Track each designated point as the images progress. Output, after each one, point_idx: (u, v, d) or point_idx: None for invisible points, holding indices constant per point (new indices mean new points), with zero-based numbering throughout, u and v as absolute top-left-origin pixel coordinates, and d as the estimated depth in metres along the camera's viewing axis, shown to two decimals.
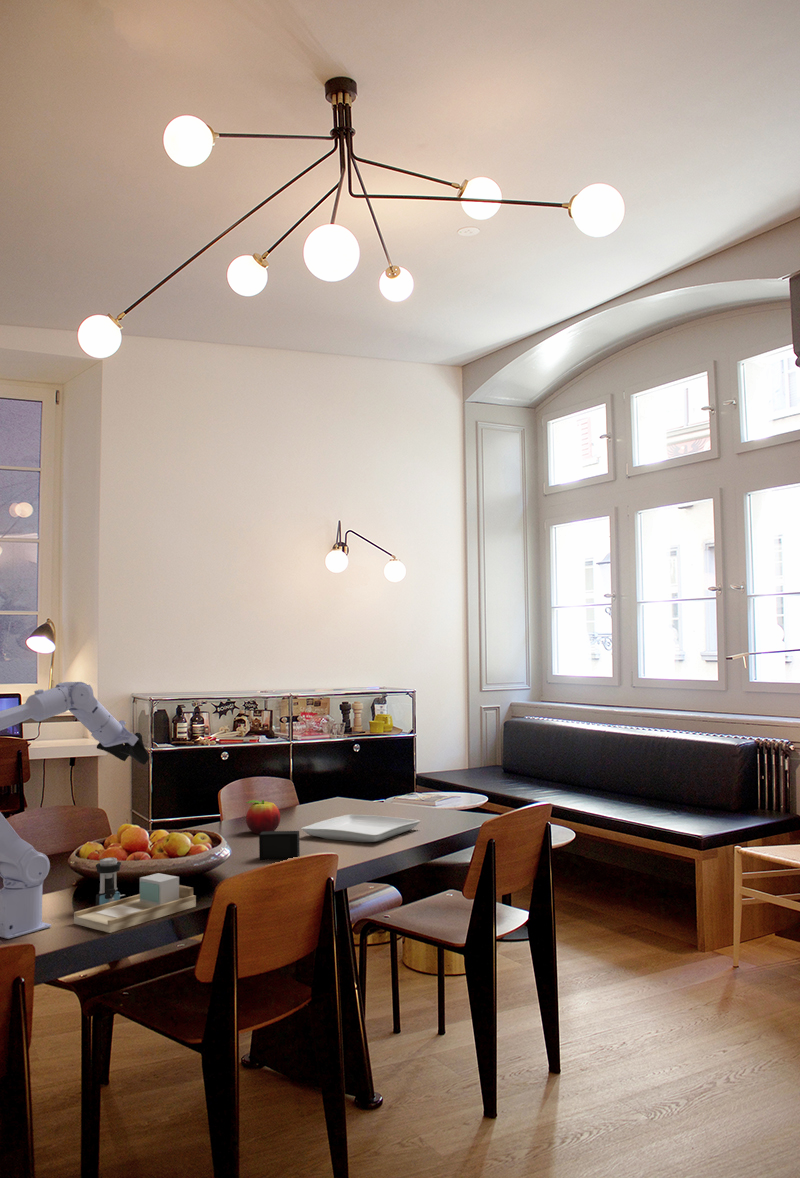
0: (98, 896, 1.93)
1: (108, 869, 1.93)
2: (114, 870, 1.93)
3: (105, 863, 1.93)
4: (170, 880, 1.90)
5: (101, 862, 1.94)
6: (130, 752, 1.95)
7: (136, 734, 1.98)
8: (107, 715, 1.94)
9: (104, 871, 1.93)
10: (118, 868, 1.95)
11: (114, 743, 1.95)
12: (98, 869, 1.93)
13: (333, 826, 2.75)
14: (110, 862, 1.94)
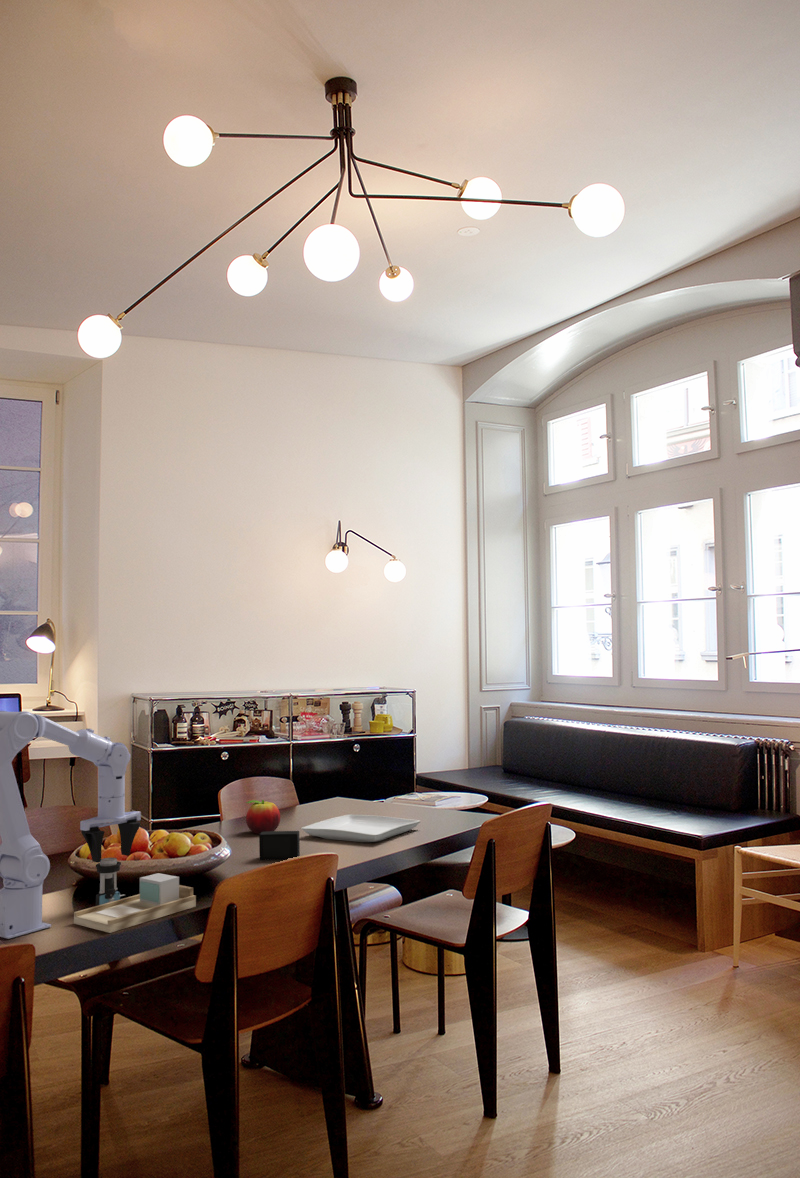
0: (98, 896, 1.93)
1: (108, 869, 1.93)
2: (114, 870, 1.93)
3: (105, 863, 1.93)
4: (170, 880, 1.90)
5: (101, 862, 1.94)
6: (83, 834, 1.93)
7: (99, 831, 1.91)
8: (123, 792, 1.96)
9: (104, 871, 1.93)
10: (118, 868, 1.95)
11: None
12: (98, 869, 1.93)
13: (333, 826, 2.75)
14: (110, 862, 1.94)
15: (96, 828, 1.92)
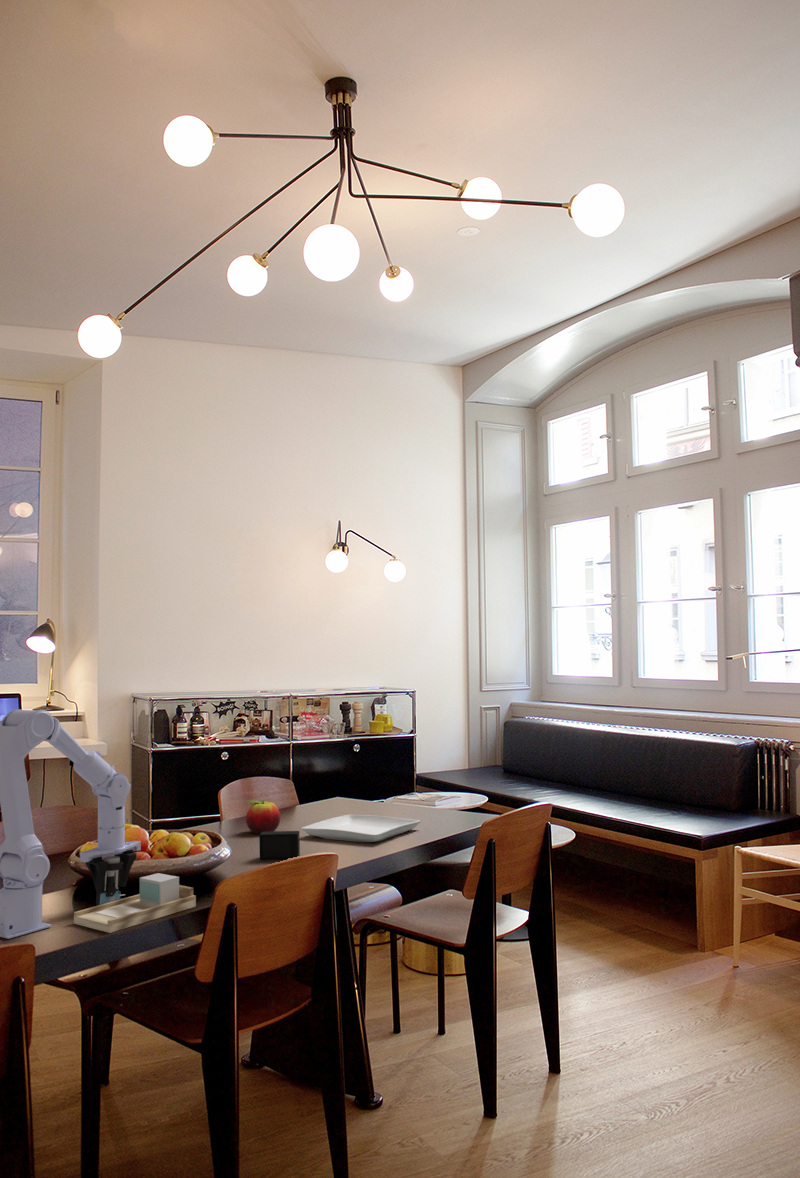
0: (98, 894, 1.93)
1: (111, 867, 1.93)
2: (116, 868, 1.94)
3: (108, 860, 1.94)
4: (170, 880, 1.90)
5: (104, 859, 1.94)
6: (86, 865, 1.93)
7: (103, 861, 1.91)
8: (123, 823, 1.96)
9: None
10: (120, 866, 1.95)
11: None
12: None
13: (333, 826, 2.75)
14: (113, 860, 1.94)
15: (100, 858, 1.92)
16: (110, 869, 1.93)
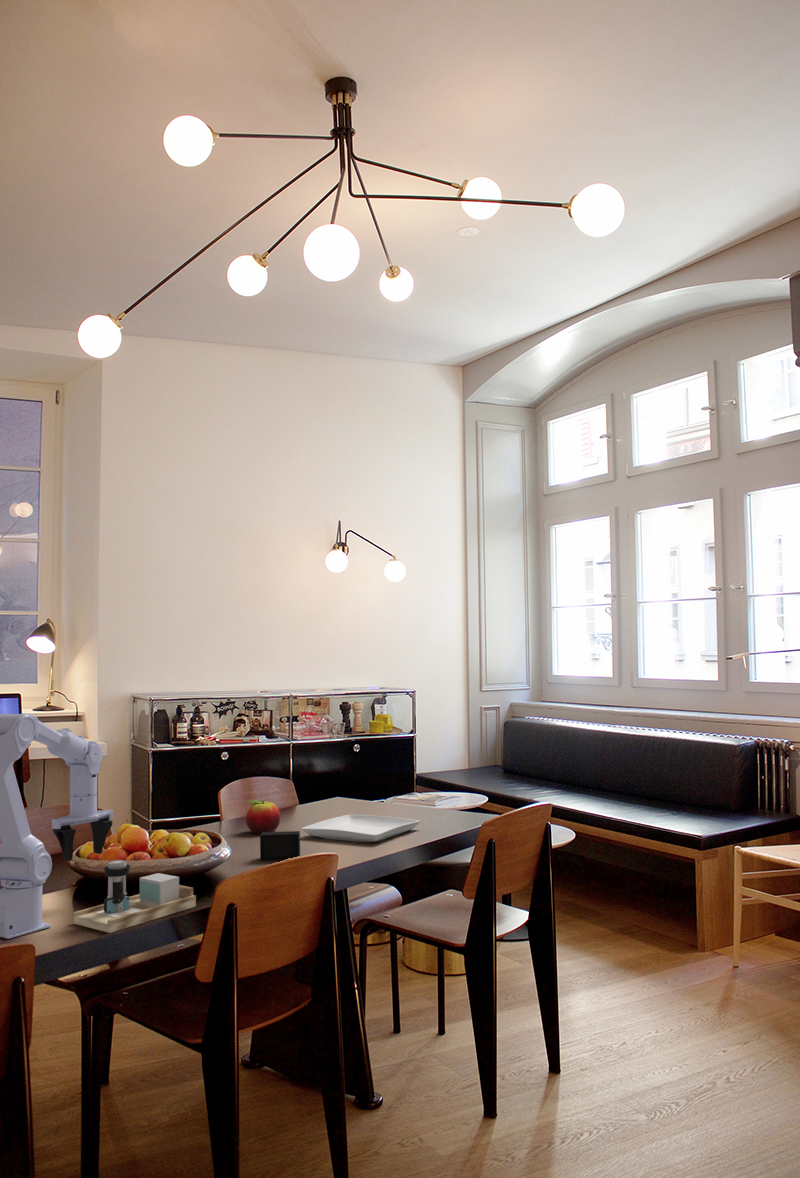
0: (105, 901, 1.83)
1: (115, 872, 1.82)
2: (122, 874, 1.83)
3: (113, 866, 1.83)
4: (170, 880, 1.90)
5: (109, 865, 1.84)
6: (54, 833, 1.94)
7: (71, 829, 1.92)
8: (96, 790, 1.98)
9: (111, 874, 1.82)
10: (127, 872, 1.84)
11: None
12: (106, 872, 1.83)
13: (333, 826, 2.75)
14: (118, 865, 1.83)
15: (67, 826, 1.93)
16: (115, 875, 1.82)
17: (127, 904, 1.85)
